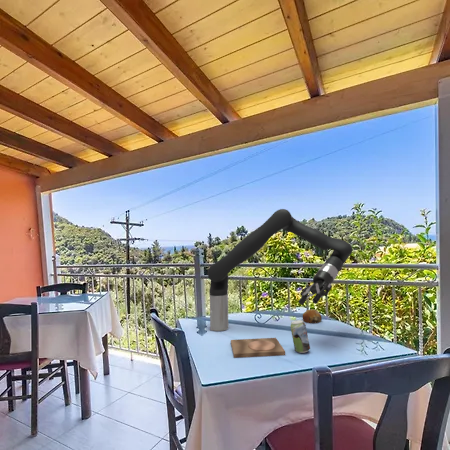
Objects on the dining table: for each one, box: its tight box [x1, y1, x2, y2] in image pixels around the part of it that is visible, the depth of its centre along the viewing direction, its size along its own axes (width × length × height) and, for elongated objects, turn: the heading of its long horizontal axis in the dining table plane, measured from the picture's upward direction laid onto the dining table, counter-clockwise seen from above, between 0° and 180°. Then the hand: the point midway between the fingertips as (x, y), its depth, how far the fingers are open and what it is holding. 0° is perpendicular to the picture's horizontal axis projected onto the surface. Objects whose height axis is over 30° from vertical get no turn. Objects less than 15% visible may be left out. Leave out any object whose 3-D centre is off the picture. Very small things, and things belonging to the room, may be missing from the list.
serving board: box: [230, 337, 286, 359], centre depth 126 cm, size 20×16×2 cm
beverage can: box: [289, 319, 311, 354], centre depth 122 cm, size 6×7×12 cm
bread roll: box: [302, 308, 323, 324], centre depth 165 cm, size 10×10×8 cm
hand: (307, 302), depth 125 cm, fingers open, 8 cm apart
